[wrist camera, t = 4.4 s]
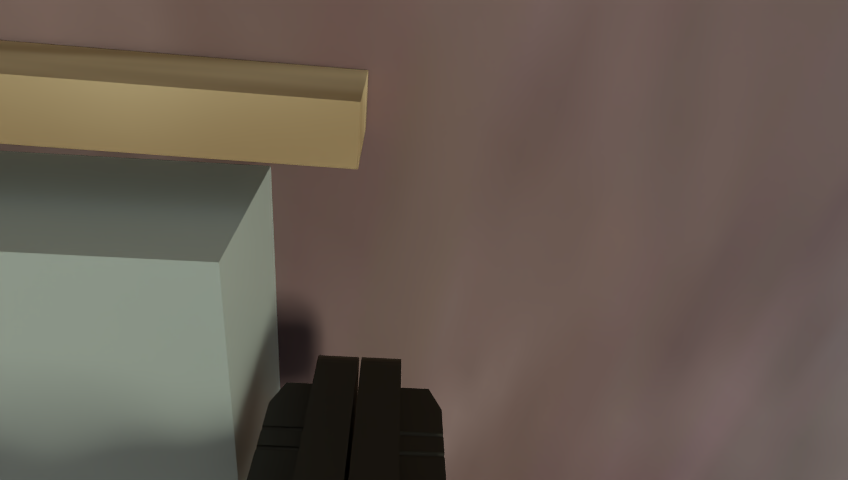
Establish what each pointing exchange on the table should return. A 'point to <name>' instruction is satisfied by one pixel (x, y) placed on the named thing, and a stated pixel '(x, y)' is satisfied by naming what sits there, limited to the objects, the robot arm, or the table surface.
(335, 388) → the robot arm
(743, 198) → the table surface
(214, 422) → the pale teal block
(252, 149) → the bay
